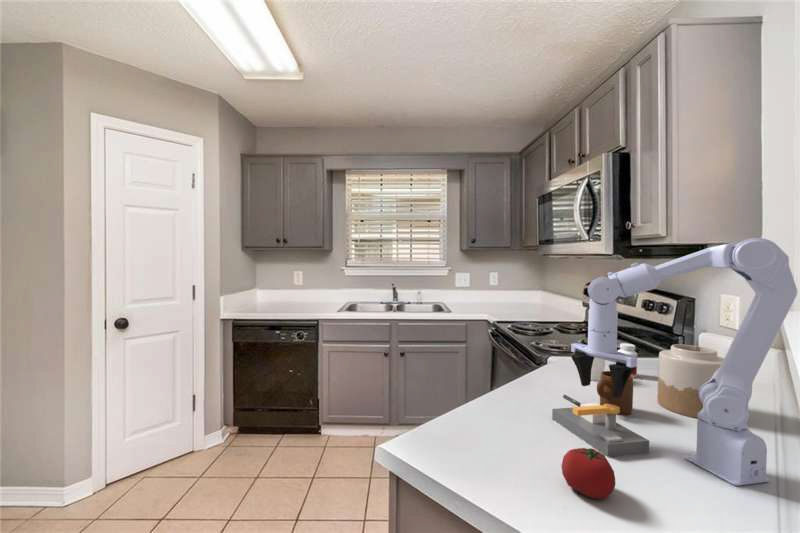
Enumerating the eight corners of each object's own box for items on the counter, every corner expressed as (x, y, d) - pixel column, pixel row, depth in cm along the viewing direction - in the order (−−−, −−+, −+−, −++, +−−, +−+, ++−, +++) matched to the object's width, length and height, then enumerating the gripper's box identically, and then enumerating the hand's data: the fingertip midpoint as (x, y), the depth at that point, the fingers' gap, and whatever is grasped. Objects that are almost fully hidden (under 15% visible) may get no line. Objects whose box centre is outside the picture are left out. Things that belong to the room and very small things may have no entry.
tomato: (597, 477, 65) (598, 437, 65) (626, 507, 57) (627, 462, 57) (553, 477, 65) (554, 437, 65) (577, 507, 57) (578, 461, 57)
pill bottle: (616, 376, 127) (617, 345, 127) (615, 371, 133) (616, 342, 133) (637, 379, 125) (638, 347, 124) (635, 374, 130) (636, 344, 130)
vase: (684, 419, 91) (686, 354, 91) (645, 397, 107) (646, 341, 107) (745, 422, 91) (748, 356, 91) (697, 399, 106) (699, 343, 106)
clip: (611, 408, 81) (611, 403, 81) (621, 413, 78) (621, 408, 78) (570, 411, 79) (570, 406, 79) (579, 417, 76) (579, 411, 76)
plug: (607, 422, 83) (608, 409, 83) (592, 423, 82) (593, 410, 82) (571, 401, 95) (571, 390, 95) (557, 402, 94) (558, 391, 94)
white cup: (574, 375, 127) (575, 347, 126) (589, 373, 130) (590, 345, 130) (594, 382, 119) (595, 352, 119) (610, 380, 123) (611, 350, 123)
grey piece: (649, 452, 74) (650, 423, 74) (607, 456, 72) (608, 427, 72) (586, 416, 92) (587, 392, 92) (552, 418, 90) (552, 394, 90)
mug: (612, 421, 90) (613, 383, 90) (583, 410, 96) (584, 374, 96) (638, 412, 96) (639, 376, 96) (609, 402, 102) (610, 369, 102)
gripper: (647, 335, 76) (645, 399, 76) (585, 324, 89) (584, 379, 89) (625, 337, 73) (623, 404, 73) (565, 325, 86) (564, 382, 86)
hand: (600, 390), depth 81 cm, fingers open, 7 cm apart
